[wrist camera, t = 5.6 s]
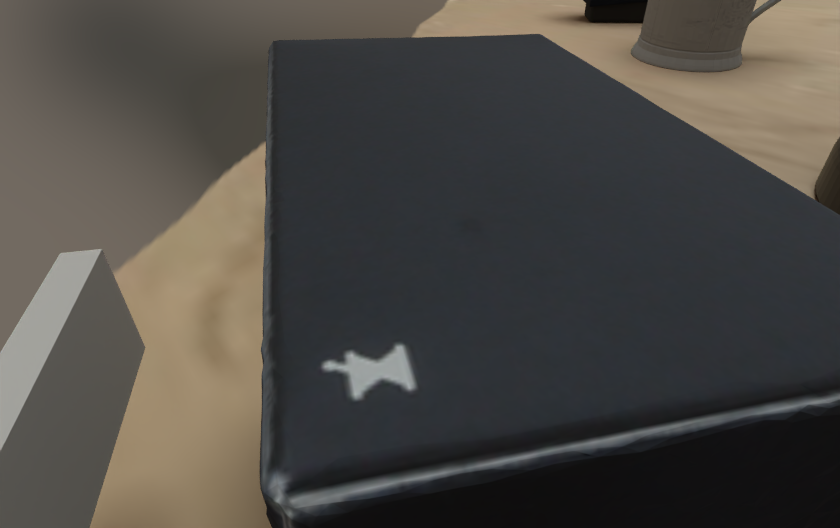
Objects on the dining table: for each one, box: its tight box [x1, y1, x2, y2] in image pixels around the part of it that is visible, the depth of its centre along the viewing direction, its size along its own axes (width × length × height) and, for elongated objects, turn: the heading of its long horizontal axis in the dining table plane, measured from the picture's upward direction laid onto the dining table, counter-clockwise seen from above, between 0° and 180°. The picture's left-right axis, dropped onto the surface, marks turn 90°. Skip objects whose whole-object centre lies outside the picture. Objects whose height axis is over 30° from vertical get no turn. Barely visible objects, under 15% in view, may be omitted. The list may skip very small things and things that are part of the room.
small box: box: [260, 34, 840, 528], centre depth 10 cm, size 11×6×10 cm, turn 13°
